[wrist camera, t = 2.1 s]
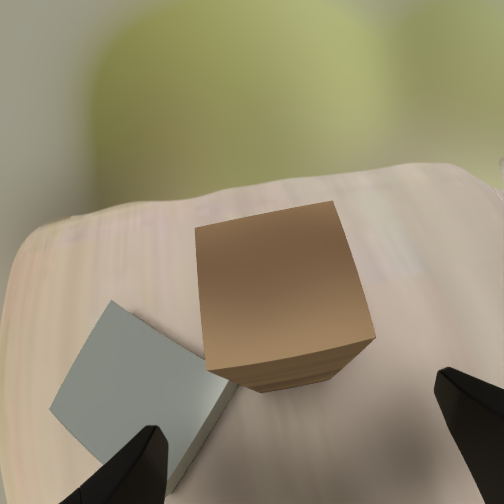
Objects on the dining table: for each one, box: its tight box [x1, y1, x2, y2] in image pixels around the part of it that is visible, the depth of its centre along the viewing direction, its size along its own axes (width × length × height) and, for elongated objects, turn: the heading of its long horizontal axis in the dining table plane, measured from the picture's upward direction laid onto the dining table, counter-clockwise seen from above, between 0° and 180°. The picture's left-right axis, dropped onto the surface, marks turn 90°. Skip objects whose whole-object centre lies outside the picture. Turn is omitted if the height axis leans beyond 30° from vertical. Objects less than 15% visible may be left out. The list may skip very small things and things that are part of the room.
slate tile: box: [49, 300, 238, 497], centre depth 17 cm, size 10×10×3 cm
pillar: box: [195, 201, 376, 393], centre depth 14 cm, size 4×4×12 cm
